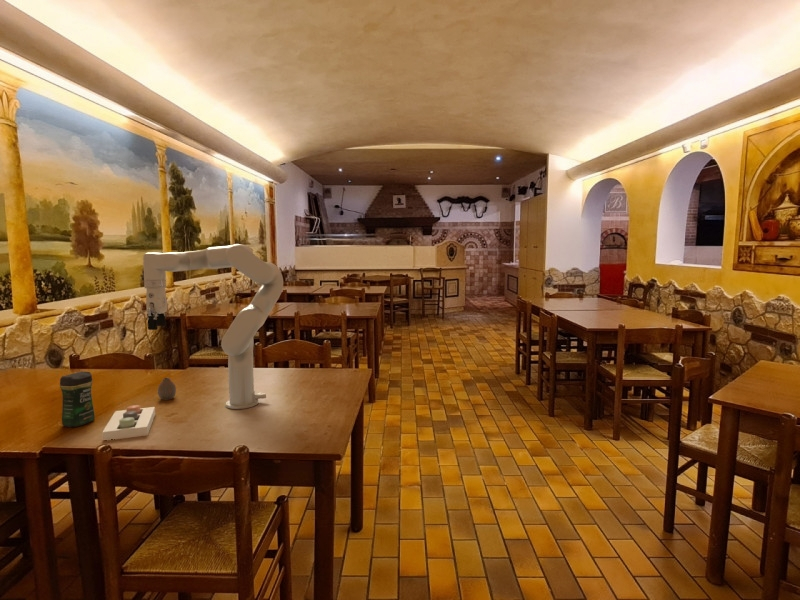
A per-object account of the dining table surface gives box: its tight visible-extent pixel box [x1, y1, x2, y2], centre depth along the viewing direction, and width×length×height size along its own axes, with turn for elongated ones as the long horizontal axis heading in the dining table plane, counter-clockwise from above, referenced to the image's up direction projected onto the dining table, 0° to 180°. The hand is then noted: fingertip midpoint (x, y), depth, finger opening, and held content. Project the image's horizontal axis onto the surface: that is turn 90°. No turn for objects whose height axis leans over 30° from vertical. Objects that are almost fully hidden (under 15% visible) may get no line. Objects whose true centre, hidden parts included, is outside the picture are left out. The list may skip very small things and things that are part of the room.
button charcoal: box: [123, 411, 139, 420], centre depth 164 cm, size 4×4×3 cm
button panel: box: [101, 406, 156, 441], centre depth 164 cm, size 13×22×3 cm, turn 22°
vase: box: [157, 377, 177, 401], centre depth 196 cm, size 7×7×9 cm
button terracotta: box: [126, 404, 141, 414], centre depth 170 cm, size 4×4×3 cm
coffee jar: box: [59, 370, 96, 428], centre depth 167 cm, size 10×8×19 cm
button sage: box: [119, 417, 136, 429], centre depth 157 cm, size 4×4×3 cm
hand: (157, 327), depth 182 cm, fingers open, 9 cm apart
